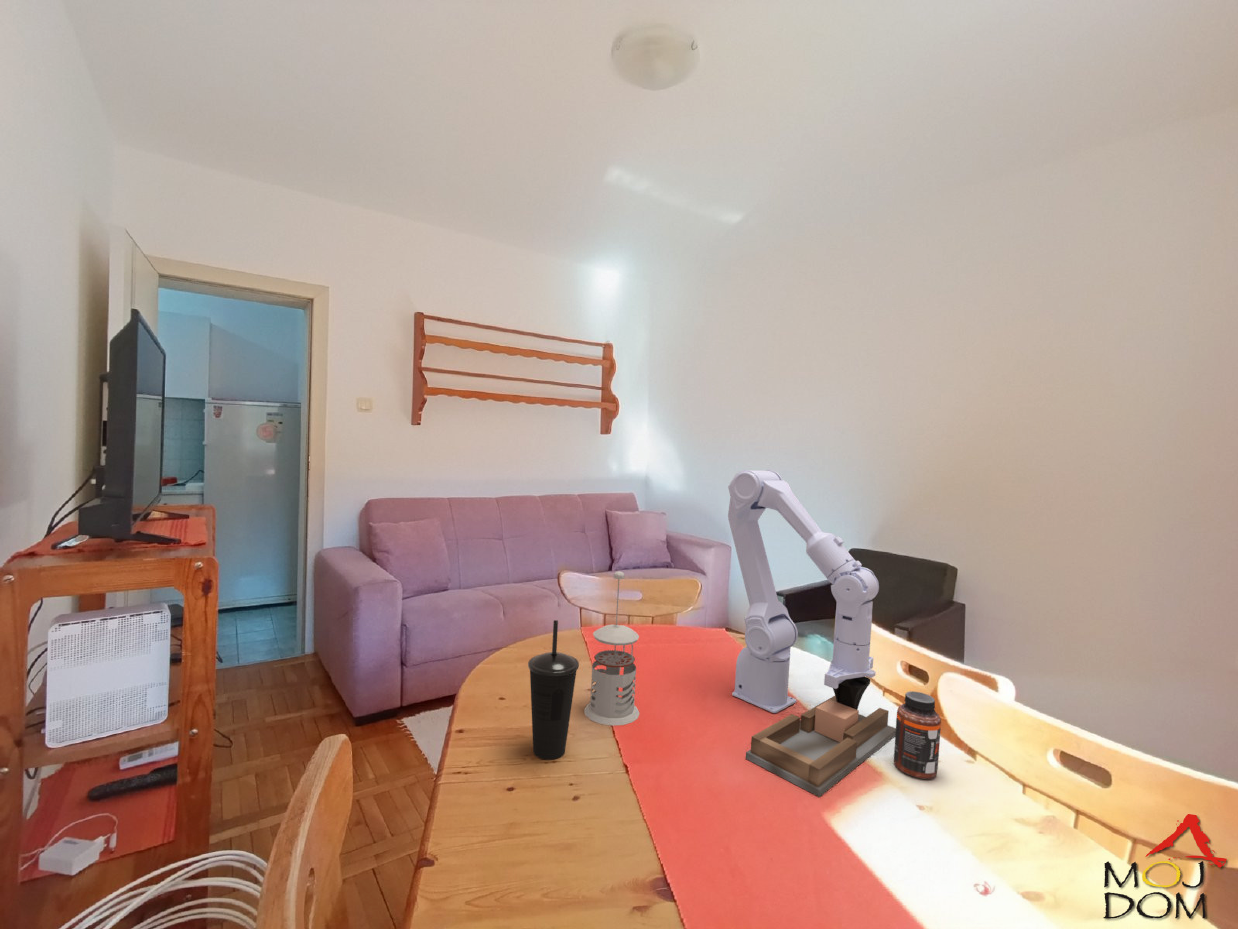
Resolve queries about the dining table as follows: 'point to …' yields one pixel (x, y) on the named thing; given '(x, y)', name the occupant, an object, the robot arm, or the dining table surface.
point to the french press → (613, 676)
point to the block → (834, 719)
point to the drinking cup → (551, 699)
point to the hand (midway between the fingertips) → (846, 718)
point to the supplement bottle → (917, 736)
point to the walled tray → (817, 749)
